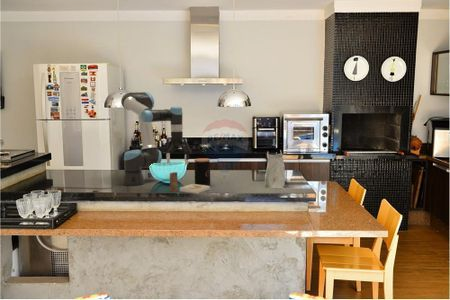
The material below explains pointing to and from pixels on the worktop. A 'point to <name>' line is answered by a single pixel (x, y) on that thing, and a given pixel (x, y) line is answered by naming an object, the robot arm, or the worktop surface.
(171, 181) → the wooden wedge
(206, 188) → the candle dish
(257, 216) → the worktop surface
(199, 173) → the coffee jar
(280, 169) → the grocery bag
